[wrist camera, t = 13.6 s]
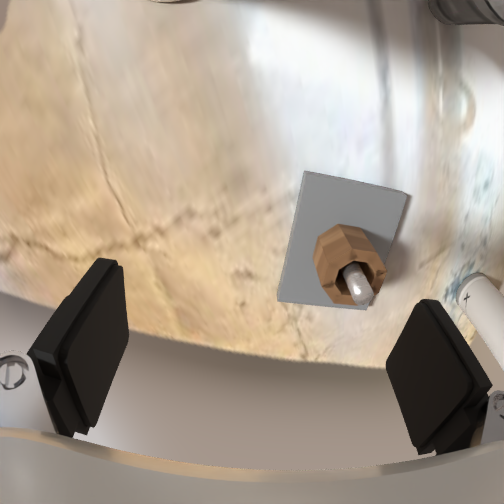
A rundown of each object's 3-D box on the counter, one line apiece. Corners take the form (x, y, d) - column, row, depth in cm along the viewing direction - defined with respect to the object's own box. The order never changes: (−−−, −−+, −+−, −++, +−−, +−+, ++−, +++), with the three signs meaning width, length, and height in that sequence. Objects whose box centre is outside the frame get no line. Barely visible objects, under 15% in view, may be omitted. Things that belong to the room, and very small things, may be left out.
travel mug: (448, 292, 41) (515, 391, 24) (479, 264, 39) (557, 354, 21) (460, 313, 43) (519, 407, 26) (489, 288, 41) (556, 374, 23)
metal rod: (335, 241, 36) (357, 286, 28) (351, 244, 36) (376, 288, 28) (331, 257, 37) (350, 304, 29) (347, 259, 37) (369, 305, 29)
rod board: (303, 170, 34) (306, 174, 32) (401, 191, 34) (407, 195, 33) (276, 294, 41) (277, 301, 40) (363, 303, 42) (366, 310, 41)
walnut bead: (321, 220, 35) (333, 245, 29) (374, 229, 35) (393, 254, 30) (308, 271, 38) (316, 301, 32) (358, 277, 38) (372, 307, 33)
